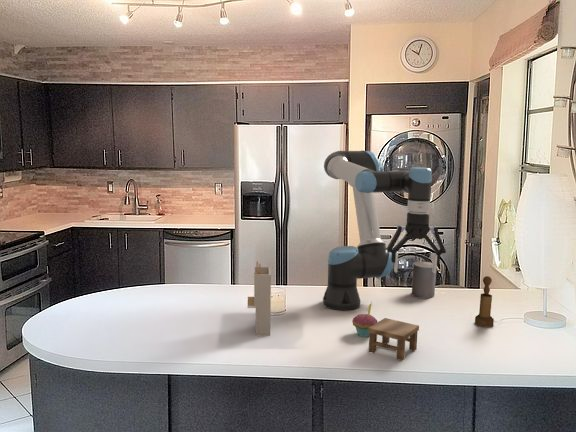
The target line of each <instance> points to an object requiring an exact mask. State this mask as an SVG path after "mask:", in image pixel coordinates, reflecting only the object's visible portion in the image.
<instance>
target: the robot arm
mask: <svg viewBox="0 0 576 432" xmlns="http://www.w3.org/2000/svg"><path fill="white" fill-rule="evenodd" d="M380 168H381V167H380V162H379V158H378V156H377V154H375V153H374V152H372V151H370V150H338V151H334V152H332V153H330V154H329V155H328V156H327V157H326V158H325V160H324V162H323V170H324V172H325V174H326V175H327V176H328V177H330V178H332V179H334V180H342V181H344V182H346V183H348V185H349V186H350V187H351V188H352V191H353V192H352V193H353V200H354V206H355V215H356V221H357V229H358V236H359V243H358V245H357V246H354V245H348V246H347V245H342V246H337V247H334V248H332V249H331V250H330V251H329V253H328V259H327V286H326V289H325V292H324V295H323V297H322V305H323V306H324V307H325V308H328V309H331V310H337V311H349V310H350V311H353V310H356V309H358V308H360V307H361V297H360V293H359V290H358V287H357V286H358V283H357V282H358V280H361V279H373V278H374V279H375V278H376V279H379V278H381V277H382V278H384V277H387V276H389V275H390V273H391V272H392V270H393V272H394V273H398V263H399V254H398V252H399V251H400V250H401V248H403V246H405V244H406V243H407V242H408V241H410V240H411V239H412V240H423V239H424V240H425V241H426V242H427V243H428V245H429V246H430V248H432V250H433V251H434V252H433V254H432V263H433V267H432V272H433V273H436V274H437V270H438V269H437V264H440V263H441V255H442V254H446V253H447V250H446V248H445V246H444V244H443V241H442V239H441V237H440V234H439V228H438V227H437V226H436V225H433V226H429V224H430V214H429V213H430V207H431V194H432V184H433V183H432V181H433V177H432V172H433V171H432V169H431V168H430V167H421V166H420V167H419V166H418V167H417V166H416V167H413V166H412V167H410V168H409V171H407V170H400V169H397V170H393V171H392V170H390V171H389V170H387V171H384V170H383V171H380ZM375 193H407V213H406V225H405V226H404V225H400V224H398V225H397V226H396V231H395V233H394V235H393V236H392V238H391V240H390V242H389V243H388V245H386V242H385V241H384V240H382V237H381V231H380V225H379V224H380V223H379V217H378V210H377V204H376V197H375ZM404 231H405V232H406V234H404V236H403V237H402V238H401V240H400V241H399V242H398V239H400V238H399V237H400V236H401V234H402V233H403V232H404ZM429 232H431V233H432V234H433V236H434V238H435V241H436V243H437V244H438V245H437V246H438V247H439V248H438V247H437V246H436V244H435V243H434V242H433V241H432V240H431V238H430V237H429V236H428V233H429ZM397 242H398V243H397ZM396 243H397V244H396Z"/></svg>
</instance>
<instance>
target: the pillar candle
mask: <svg viewBox="0 0 576 432" xmlns="http://www.w3.org/2000/svg"><path fill="white" fill-rule="evenodd" d="M412 267H413V269H412V281H411V282H412V284H411V285H412V287H411V296H414V297H415V298H421V299H431V298H434V296H435V293H436V291H435V290H436V280H437V279H436V277H437V272H436V273H433V272H432V267H433V262H431V261H416V262H414V263H413V266H412Z"/></svg>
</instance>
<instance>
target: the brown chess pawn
mask: <svg viewBox="0 0 576 432" xmlns="http://www.w3.org/2000/svg"><path fill="white" fill-rule="evenodd" d="M492 281H493V280H492V278H491V277H490V276H489V275H486V276H484V277H483V278H482V282H483V284H484V287H483V288H482V289H483V292H482V293H480V296H479V298H480V300H479V301H480V302H479V312H478V314H477V315H476V316H474V317H475V318H474V324H475V325H476V326H479V327H484V328H491V327H493V326H494V323H495V322H494V318H493V317H492V316H491V310H492V300H493V295H492V294H490V292H491V288H490V285H491V284H492Z"/></svg>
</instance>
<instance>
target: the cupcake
mask: <svg viewBox="0 0 576 432" xmlns="http://www.w3.org/2000/svg"><path fill="white" fill-rule="evenodd" d="M372 302H373V301H371V302H370V303H369V305H368V310H367V313H361V314H357V315H356V316H354V317H353V318H352V322H351V323H352V326H354V327H355V329H356V334H357V335H358V336H359V337H365V338H369V332H368V328H369V327H371V326H372V325H374V324H376V323H377V322H378V320H377V318H375V317H374V315H371V309H372Z"/></svg>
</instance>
